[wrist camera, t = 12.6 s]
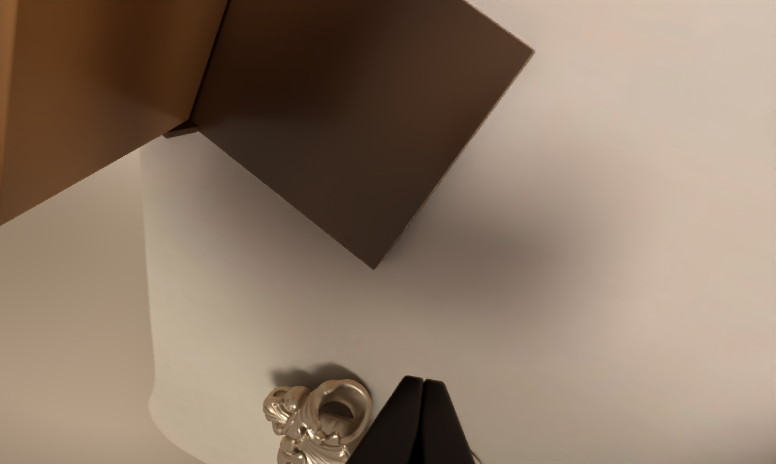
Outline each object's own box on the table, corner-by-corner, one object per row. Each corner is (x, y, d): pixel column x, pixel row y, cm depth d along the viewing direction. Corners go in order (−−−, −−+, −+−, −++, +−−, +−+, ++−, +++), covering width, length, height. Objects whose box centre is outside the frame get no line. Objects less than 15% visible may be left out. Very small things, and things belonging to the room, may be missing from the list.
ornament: (306, 337, 27) (270, 375, 24) (399, 406, 26) (375, 454, 23) (266, 410, 31) (230, 451, 28) (346, 472, 30) (319, 522, 27)
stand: (537, 48, 17) (520, 47, 12) (380, 263, 23) (323, 325, 18) (258, -151, 18) (130, -231, 13) (178, 104, 24) (70, 118, 19)
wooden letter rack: (34, -226, 8) (-136, -340, 7) (-4, 229, 13) (-101, 181, 13) (268, -120, 17) (200, -167, 17) (188, 120, 22) (136, 90, 22)
